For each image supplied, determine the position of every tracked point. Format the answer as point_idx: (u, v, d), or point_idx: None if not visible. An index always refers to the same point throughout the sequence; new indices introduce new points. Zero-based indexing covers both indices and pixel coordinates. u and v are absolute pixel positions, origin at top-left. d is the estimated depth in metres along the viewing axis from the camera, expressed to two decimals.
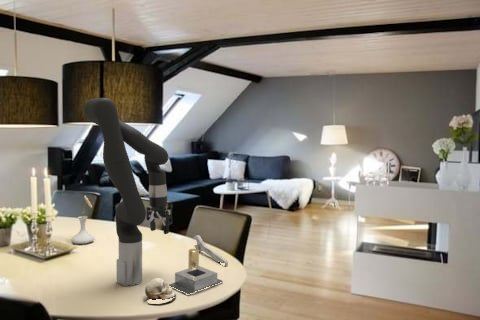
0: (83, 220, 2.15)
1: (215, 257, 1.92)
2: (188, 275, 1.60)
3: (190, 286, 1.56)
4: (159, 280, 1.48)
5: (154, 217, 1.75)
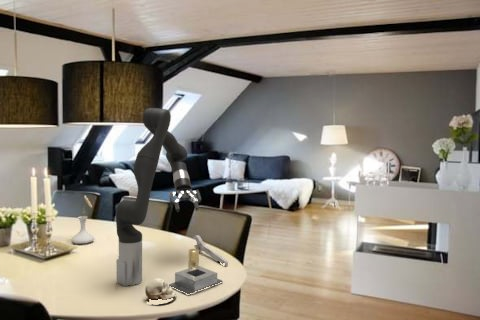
0: (83, 220, 2.15)
1: (215, 257, 1.92)
2: (188, 275, 1.60)
3: (190, 286, 1.56)
4: (159, 280, 1.48)
5: (179, 199, 1.87)
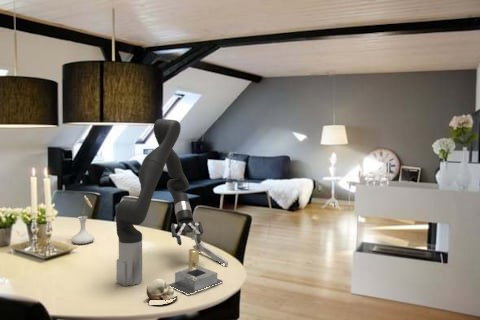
0: (83, 220, 2.15)
1: (215, 257, 1.91)
2: (188, 275, 1.60)
3: (190, 286, 1.56)
4: (161, 281, 1.48)
5: (181, 232, 1.84)
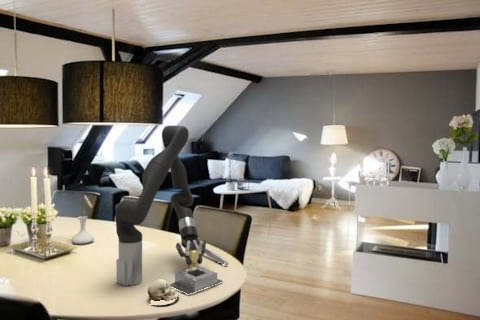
0: (83, 220, 2.15)
1: (215, 257, 1.91)
2: (188, 275, 1.60)
3: (190, 286, 1.56)
4: (162, 281, 1.47)
5: (188, 250, 1.77)
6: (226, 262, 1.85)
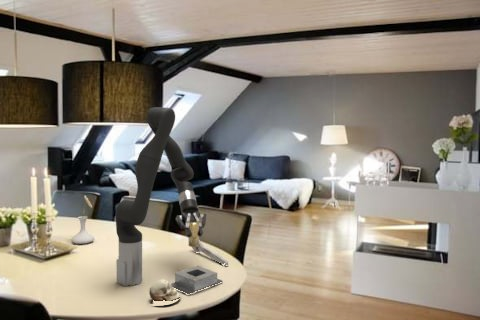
0: (83, 220, 2.15)
1: (214, 257, 1.91)
2: (188, 275, 1.60)
3: (190, 286, 1.56)
4: (164, 282, 1.47)
5: (188, 222, 1.76)
6: (226, 262, 1.85)
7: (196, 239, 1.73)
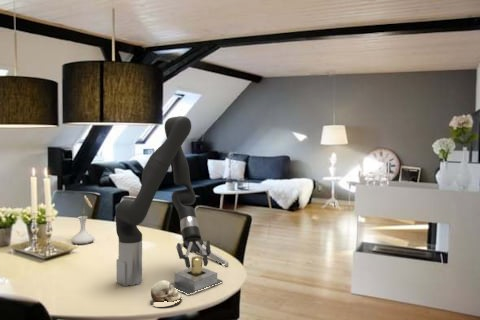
0: (83, 220, 2.15)
1: (215, 258, 1.91)
2: (188, 275, 1.60)
3: (190, 286, 1.56)
4: (165, 282, 1.46)
5: None
6: (226, 262, 1.85)
7: None
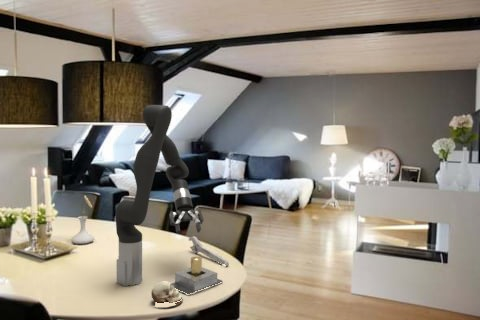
0: (83, 220, 2.15)
1: (214, 258, 1.90)
2: (188, 275, 1.60)
3: (190, 286, 1.56)
4: (166, 283, 1.46)
5: (180, 220, 1.75)
6: (227, 262, 1.85)
7: None
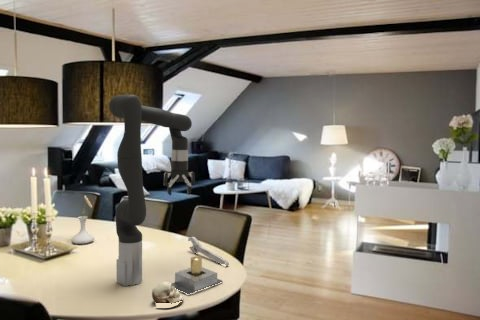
0: (83, 220, 2.15)
1: (214, 258, 1.90)
2: (188, 275, 1.60)
3: (190, 286, 1.56)
4: (166, 283, 1.45)
5: (173, 182, 1.84)
6: (227, 262, 1.85)
7: None
